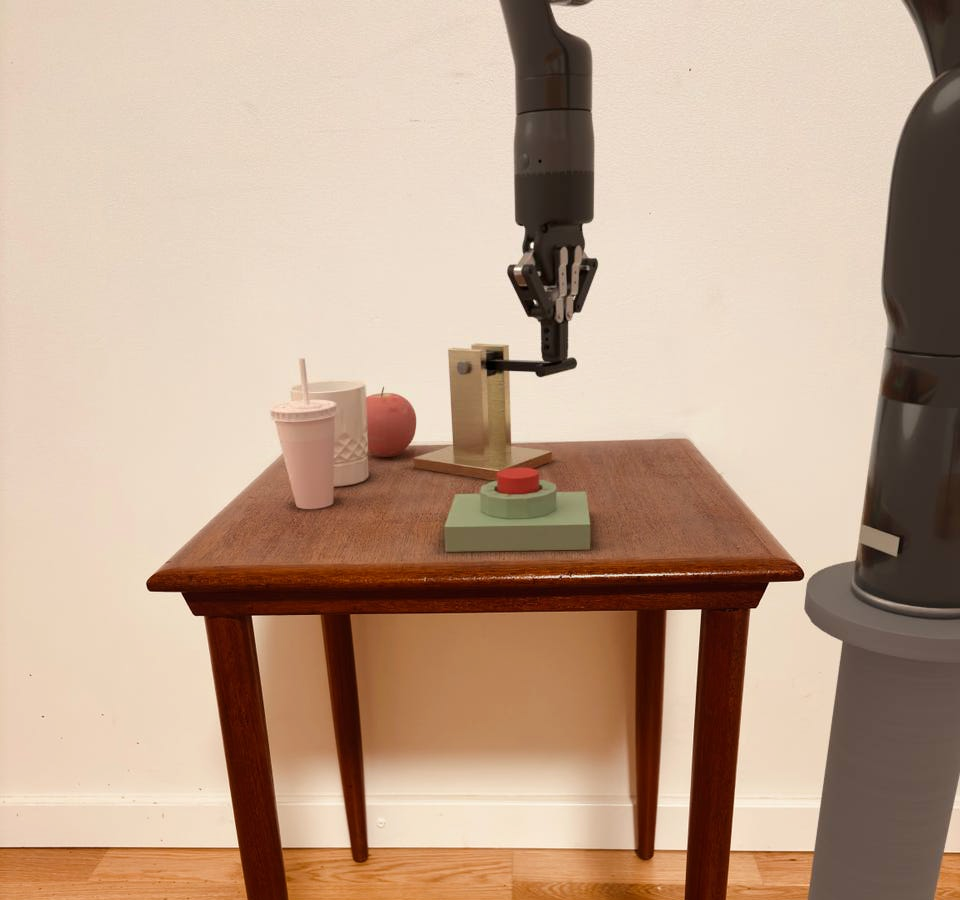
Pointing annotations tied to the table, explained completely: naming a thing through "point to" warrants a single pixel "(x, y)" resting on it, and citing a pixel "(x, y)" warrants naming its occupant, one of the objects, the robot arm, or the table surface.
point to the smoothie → (308, 446)
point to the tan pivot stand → (480, 420)
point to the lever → (528, 365)
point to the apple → (389, 424)
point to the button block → (518, 521)
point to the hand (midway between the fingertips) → (555, 360)
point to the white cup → (344, 426)
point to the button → (518, 481)
